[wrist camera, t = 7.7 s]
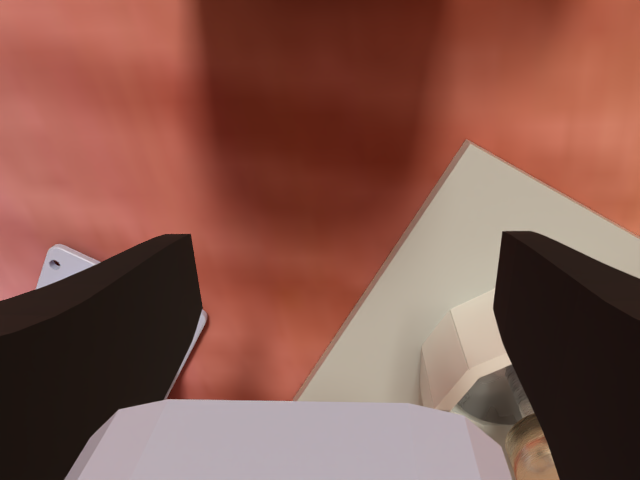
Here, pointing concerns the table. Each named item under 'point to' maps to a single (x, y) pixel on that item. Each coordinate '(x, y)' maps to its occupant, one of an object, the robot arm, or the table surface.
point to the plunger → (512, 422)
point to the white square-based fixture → (453, 290)
